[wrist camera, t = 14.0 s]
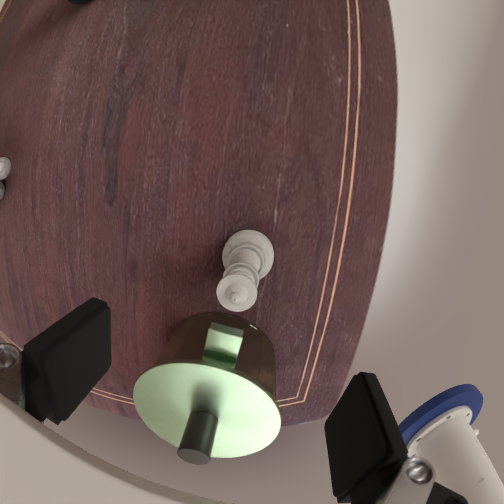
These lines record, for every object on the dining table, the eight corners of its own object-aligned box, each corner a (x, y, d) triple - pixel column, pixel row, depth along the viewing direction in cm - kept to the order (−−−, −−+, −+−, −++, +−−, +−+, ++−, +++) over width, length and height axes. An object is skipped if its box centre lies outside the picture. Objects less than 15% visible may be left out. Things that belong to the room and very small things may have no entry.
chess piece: (273, 228, 23) (274, 259, 14) (274, 276, 25) (275, 334, 15) (222, 229, 24) (190, 261, 14) (226, 277, 25) (199, 334, 15)
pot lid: (303, 376, 18) (309, 428, 13) (258, 458, 21) (255, 498, 16) (138, 332, 18) (105, 373, 13) (139, 426, 21) (121, 461, 16)
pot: (297, 304, 25) (308, 357, 17) (253, 417, 29) (247, 470, 21) (180, 273, 25) (142, 313, 17) (165, 393, 29) (142, 442, 21)
